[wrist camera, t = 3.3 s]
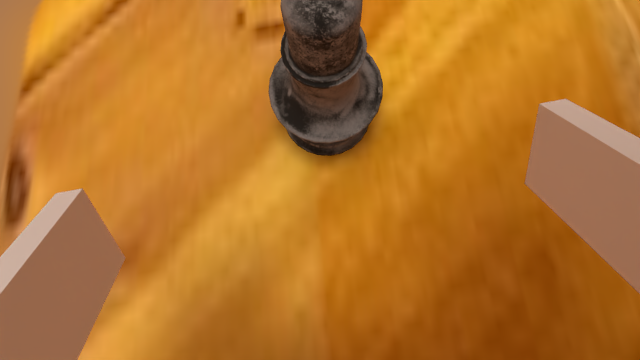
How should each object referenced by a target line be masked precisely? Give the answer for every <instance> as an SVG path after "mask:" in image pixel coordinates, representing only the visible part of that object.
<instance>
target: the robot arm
mask: <svg viewBox="0 0 640 360" xmlns="http://www.w3.org/2000/svg"><path fill="white" fill-rule="evenodd" d="M525 184H526V185H527V186H528V187H529V188H530V189H531V190H532V191H533V192H534V193H535V194H536V195H537V196H538V197H539V198H540V199H541V200H542V201H543V202H545V203H546V204H547V205H548V206H549V207H550V208H551V209H552V210H553V211H554V212H555V213H556V214H557V215H558V216H559V217H560V218H561V219H562V220H563V221H564V222H565V223H566V224H567V225H569V226H570V227H571V228H572V229H573V230H574V231H575V232H576V233H577V234H578V235H579V236H580V237H581V238H582V239H583V240H584V241H585V242H586V243H587V244H588V245H589V246H590V247H591V248H593V249H594V250H595V251H596V252H597V253H598V254H599V255H600V256H601V257H602V258H603V259H604V260H605V261H606V262H607V263H608V264H609V265H610V266H611V267H612V268H613V269H614V270H615V271H617V272H618V273H619V274H620V275H621V276H622V277H623V278H624V279H625V280H626V281H627V282H628V283H629V284H630V285H631V286H632V287H633V288H634V289H635V290H636V291H637V292H638V293H639V294H640V138H638V137H636V136H635V135H633V134H631V133H629V132H627V131H625V130H623V129H621V128H620V127H618V126H616V125H614V124H612V123H610V122H608V121H606V120H605V119H603V118H601V117H599V116H597V115H595V114H593V113H591V112H590V111H588V110H586V109H584V108H582V107H580V106H578V105H576V104H575V103H573V102H571V101H569V100H567V99H562V100H557V101H552V102H546V103H541V104H539V108H538V114H537V119H536V125H535V130H534V136H533V141H532V147H531V152H530V158H529V163H528V169H527V174H526V179H525ZM124 260H125V257H124V255H123V253H122V252H121V250H120V248H119V247H118V245H117V244H116V242H115V240H114V239H113V237H112V235H111V234H110V232H109V231H108V229H107V227H106V226H105V224H104V222H103V221H102V219H101V218H100V216H99V214H98V213H97V211H96V209H95V208H94V206H93V205H92V203H91V201H90V200H89V198H88V196H87V195H86V193H85V192H84V190H83V189H77V190H72V191H67V192H61V193H56V194H55V195H54V196H53V197H52V198H51V200H50V201H49V202H48V203H47V204H46V205H45V206H44V208H43V209H42V210H41V211H40V212H39V213H38V214H37V216H36V217H35V218H34V219H33V220H32V221H31V223H30V224H29V225H28V226H27V227H26V228H25V229H24V231H23V232H22V233H21V234H20V235H19V236H18V237H17V239H16V240H15V241H14V242H13V243H12V244H11V245H10V247H9V248H8V249H7V250H6V251H5V252H4V253H3V255H2V256H1V257H0V360H77V359H78V357H79V355H80V353H81V351H82V349H83V347H84V344H85V342H86V340H87V338H88V336H89V334H90V332H91V330H92V328H93V325H94V323H95V321H96V319H97V317H98V315H99V313H100V311H101V309H102V306H103V304H104V302H105V300H106V298H107V296H108V294H109V292H110V289H111V287H112V285H113V283H114V281H115V279H116V277H117V275H118V273H119V270H120V268H121V266H122V264H123V262H124Z"/></svg>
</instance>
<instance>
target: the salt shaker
mask: <svg viewBox="0 0 640 360" xmlns="http://www.w3.org/2000/svg"><path fill="white" fill-rule="evenodd" d="M281 11H282V17H283V21H284V26H285V33H284V35H283V38H282V42H281V55H282V57H281V58H280V60H279V61H278V62H277V64H276V65H275V67H274V70H273V72H272V75H271V77H270V84H269V97H270V102H271V107H272V109H273V111H274V113H275V115H276V117H277V119H278V120H279V121H280V122H281V124H282V125H283V126H284V127H285V128H286V129H287V131H288V133H289V135H290V137H291V138H292V139H293V141H294V142H295V143H296V144H297V145H298V146H300V147H301V148H303V149H304V150H306V151H308V152H311V153H314V154H317V155H335V154H340V153H343V152H345V151H347V150H349V149H351V148H352V147H354V146H355V145H356V144H357V143H358V142H359V141H360V140H361V139H362V137H363V136H364V134H365V133H366V131H367V128H368V125H369V124H370V122H371V121H372V119H373V118H374V117H375V115H376V114H377V112H378V109H379V106H380V103H381V100H382V91H383V82H382V79H381V75H380V71H379V69H378V67H377V65H376V63H375V62H374V60H373V58H372V57H371V56H370V55H369V54H368V53H367V52H366V47H367V43H366V38H365V34H364V32H363V30H362V28H361V27H360V22H361V13H362V0H281Z"/></svg>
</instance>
